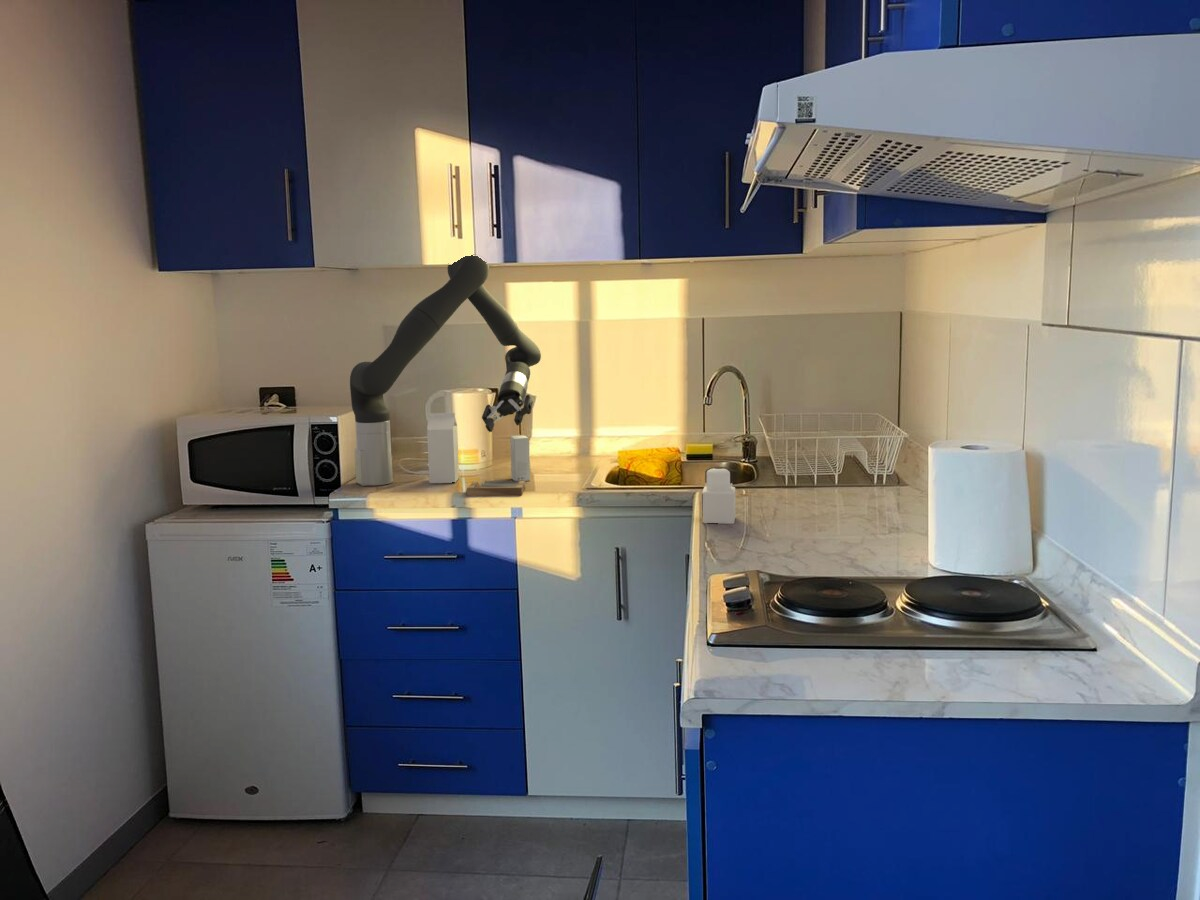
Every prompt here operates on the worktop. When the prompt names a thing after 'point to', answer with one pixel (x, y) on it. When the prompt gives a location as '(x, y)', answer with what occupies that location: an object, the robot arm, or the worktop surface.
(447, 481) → the milk carton
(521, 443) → the skincare box
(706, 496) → the medicine bottle
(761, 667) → the worktop surface
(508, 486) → the stop dock
